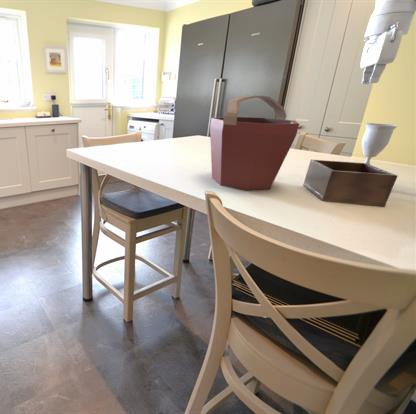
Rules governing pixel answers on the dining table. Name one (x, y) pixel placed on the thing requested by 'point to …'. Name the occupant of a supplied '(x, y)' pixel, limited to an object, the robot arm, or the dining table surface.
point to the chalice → (376, 139)
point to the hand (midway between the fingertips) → (369, 83)
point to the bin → (349, 182)
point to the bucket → (250, 146)
